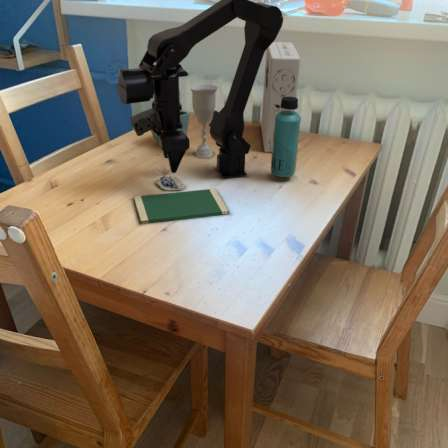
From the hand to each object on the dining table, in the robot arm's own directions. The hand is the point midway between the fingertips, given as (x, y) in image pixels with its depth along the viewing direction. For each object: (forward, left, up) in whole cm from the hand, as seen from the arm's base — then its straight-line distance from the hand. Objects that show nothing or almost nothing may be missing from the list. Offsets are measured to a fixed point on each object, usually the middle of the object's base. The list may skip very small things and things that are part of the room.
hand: (170, 165), depth 118 cm
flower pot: (-5, -28, -5) cm, 29 cm away
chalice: (-13, -18, -5) cm, 23 cm away
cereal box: (-37, -25, -5) cm, 45 cm away
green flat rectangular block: (0, +12, -5) cm, 13 cm away
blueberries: (0, 0, -5) cm, 5 cm away
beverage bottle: (-29, +2, -5) cm, 29 cm away
